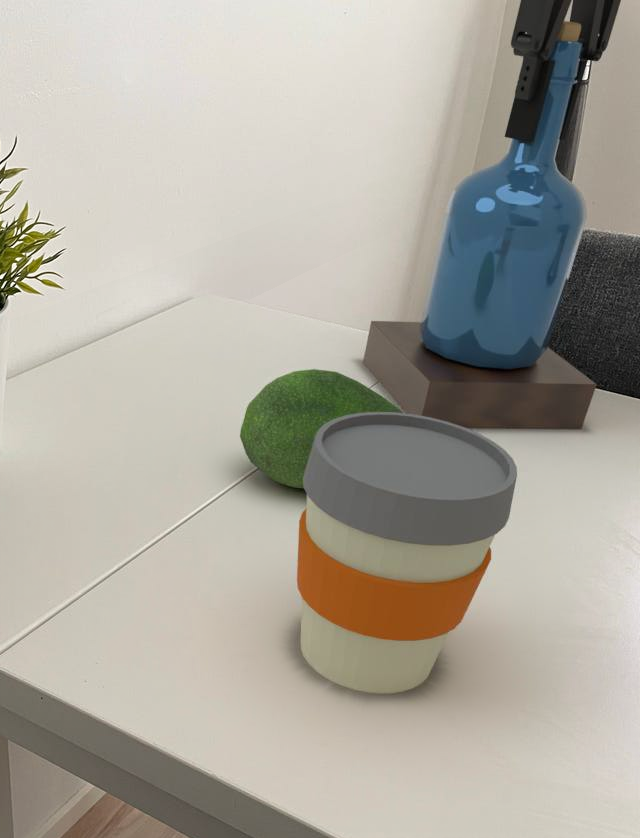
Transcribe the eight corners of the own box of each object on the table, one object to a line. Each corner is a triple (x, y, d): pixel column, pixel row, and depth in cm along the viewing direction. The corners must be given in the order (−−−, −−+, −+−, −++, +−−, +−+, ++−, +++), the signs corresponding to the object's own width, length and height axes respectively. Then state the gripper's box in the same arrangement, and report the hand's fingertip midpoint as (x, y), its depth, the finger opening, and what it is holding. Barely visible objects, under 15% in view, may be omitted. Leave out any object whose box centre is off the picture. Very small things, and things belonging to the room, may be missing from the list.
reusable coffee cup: (242, 619, 70) (272, 420, 62) (388, 590, 75) (436, 402, 66) (336, 730, 61) (387, 515, 53) (496, 690, 66) (568, 486, 57)
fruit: (401, 472, 92) (427, 367, 86) (406, 523, 84) (434, 411, 78) (240, 449, 93) (254, 345, 88) (229, 497, 85) (244, 385, 80)
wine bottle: (542, 383, 100) (651, 34, 82) (409, 359, 103) (487, 17, 85) (542, 341, 111) (639, 25, 93) (422, 321, 113) (494, 10, 96)
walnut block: (506, 366, 118) (518, 324, 115) (581, 430, 104) (597, 384, 101) (362, 363, 115) (371, 320, 112) (418, 429, 101) (430, 381, 98)
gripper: (634, -166, 88) (552, 127, 101) (518, -194, 78) (445, 134, 92) (716, -166, 83) (619, 141, 97) (604, -195, 74) (514, 150, 87)
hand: (535, 137), depth 94 cm, fingers closed on wine bottle, 5 cm apart
